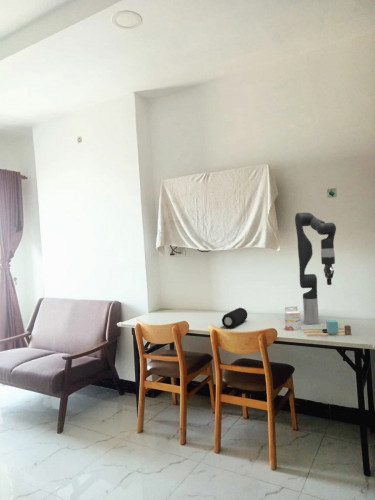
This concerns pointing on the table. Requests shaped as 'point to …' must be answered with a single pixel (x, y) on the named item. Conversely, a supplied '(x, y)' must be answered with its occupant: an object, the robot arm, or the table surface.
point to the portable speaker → (234, 317)
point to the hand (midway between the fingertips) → (329, 284)
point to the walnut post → (347, 329)
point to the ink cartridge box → (292, 319)
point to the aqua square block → (332, 326)
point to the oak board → (319, 333)
